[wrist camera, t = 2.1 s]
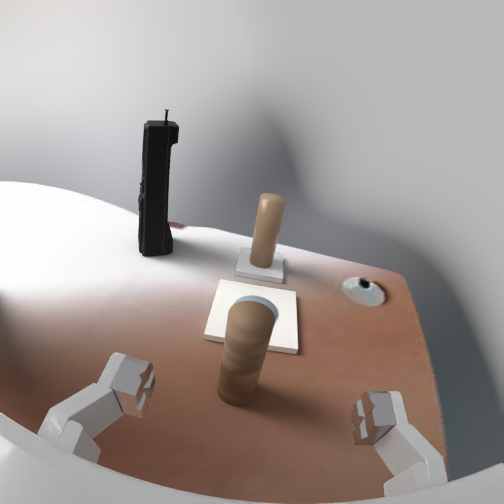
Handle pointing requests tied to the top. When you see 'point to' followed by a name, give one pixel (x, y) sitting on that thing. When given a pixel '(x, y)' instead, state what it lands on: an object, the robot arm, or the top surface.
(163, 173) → the portable radio
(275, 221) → the tan wooden dowel
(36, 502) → the robot arm
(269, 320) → the walnut pin
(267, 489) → the top surface
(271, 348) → the plate
